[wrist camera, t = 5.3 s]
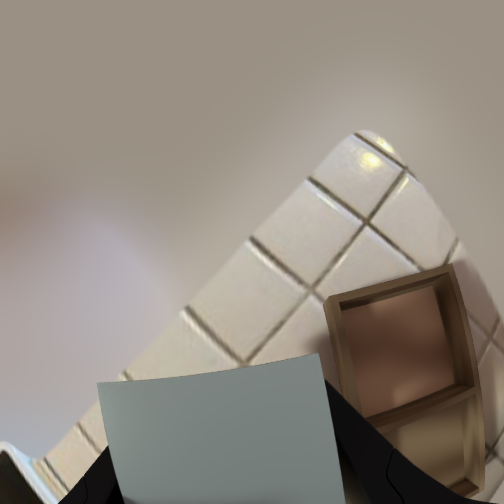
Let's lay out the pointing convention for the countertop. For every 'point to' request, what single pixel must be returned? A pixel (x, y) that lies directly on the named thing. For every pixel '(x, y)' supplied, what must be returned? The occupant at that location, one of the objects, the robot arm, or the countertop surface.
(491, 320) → the countertop surface
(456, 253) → the countertop surface
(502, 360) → the countertop surface
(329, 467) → the grey tall block
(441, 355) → the slot holder
